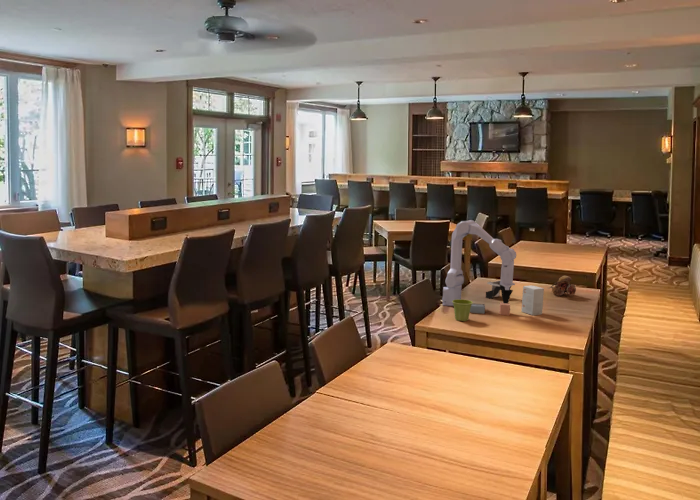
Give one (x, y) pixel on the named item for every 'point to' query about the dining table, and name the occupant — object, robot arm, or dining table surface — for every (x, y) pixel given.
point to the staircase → (493, 290)
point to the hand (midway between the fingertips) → (505, 301)
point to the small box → (532, 300)
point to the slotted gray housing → (477, 308)
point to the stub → (504, 309)
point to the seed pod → (563, 286)
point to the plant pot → (462, 309)
